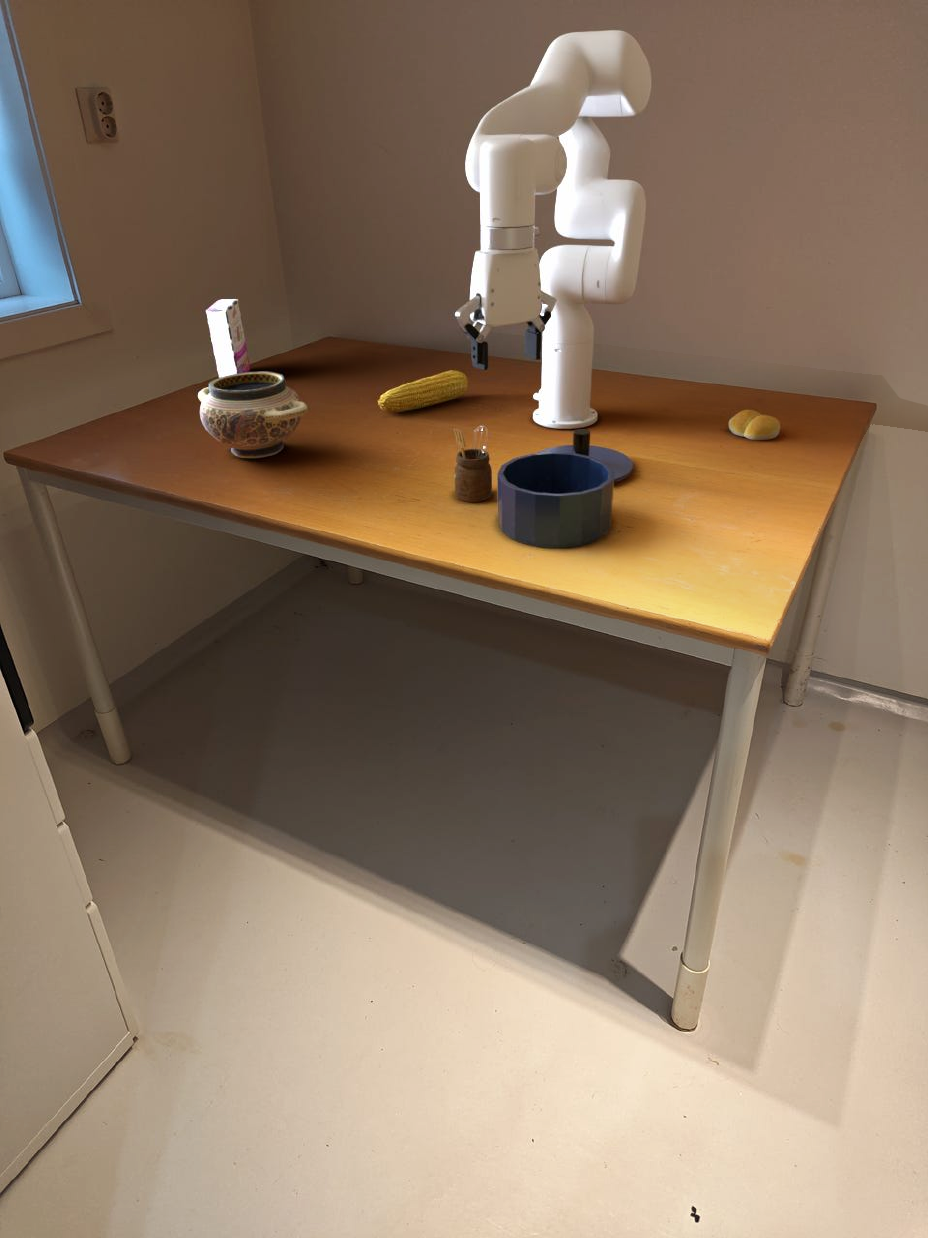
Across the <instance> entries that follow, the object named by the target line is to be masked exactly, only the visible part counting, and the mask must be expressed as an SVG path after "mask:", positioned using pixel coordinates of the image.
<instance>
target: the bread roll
mask: <svg viewBox="0 0 928 1238" xmlns="http://www.w3.org/2000/svg"><path fill="white" fill-rule="evenodd" d="M728 428H729V431H730V432H731V433H732V434H733V435H736V436H738V437H742V438H743V437H744V438H746V439H748V440H751V441H768V440H772V439H775V438H777V437H778V436H779V434H780V430H781V422H780V421H779V419H777V418H776V417H774V416H771V415H768V414H761V413H759V412H758V411H756V410H753V409H744V410H741V411H739V412H737V413H736V414H735V415H734V416H732V417H731V418H730V419H729V420H728Z"/></svg>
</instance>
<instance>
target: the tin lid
mask: <svg viewBox="0 0 928 1238" xmlns="http://www.w3.org/2000/svg"><path fill="white" fill-rule="evenodd" d="M572 433H573V434H572V435H573V436H572V444H566V445H559V446H558V445H557V446H553V447H549V448H546V449H542V450H540V451H538V452H537V453H544V452H565V453H576V454H581V455H585V456H590V457H594V458H596V459H598V460H600V461H603V462H605V463H607V464H608V465H609V466H610V467H611V468H612V469H613V471H614V472H615V475H614V483H618V482H620V481H622V480H624V479H626V478H628V477H629V476H630V475H631V474H632V472H633V471H634V470H633V469H634V463H633V461H632V459H631V458H630V457H629V456H627V455H626V454H624V453H623V452H621V451H618V450H616V449H612V448H609V447H605V446H599V445H591V430H589V429H587V428H576V429H574V430H573V432H572Z"/></svg>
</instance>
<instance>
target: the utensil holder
mask: <svg viewBox="0 0 928 1238" xmlns="http://www.w3.org/2000/svg"><path fill="white" fill-rule="evenodd" d="M483 428H484V429H485V434H487V435H485V439H484V441H486V443H484V445H483V448H482V449H481V445H482V444H481V443H479V444H478V448H477V444H476V443H477V440H475V438H477V434H478V433H476V432H478V431H479V429H480V430H483ZM453 432H454V435H455V440H456V445H457V446H458V447H459V448H460V451H458V452H457V453H456V458H455V461H456V465H455V466H454V492H455V496H456V498H457V499H458V500H460V501H463V502H467V503H479V502H483V501H486V500H488V499H490V497H491V495H492V492H493V471H492V466H491V464H490V454H489V452H488V451H486V448H487V446H488V443H489V441H487V440H488V437H489V433H490V432H489V431H488V428H487V427H486V426H484V425H479V426H477V427H476V428H475V430H474V435H472V436H473V437H472V438H473V439H472V440H474V444H472V445H473V447H474V448H467V449H465V448H466V447H467V445H466V441H465V437H464V434H463V429H459V428H456V427H454V428H453ZM479 434H480V436H479V438H480V440H482V436H483V435H482V433H479ZM474 436H475V437H474Z"/></svg>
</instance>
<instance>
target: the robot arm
mask: <svg viewBox="0 0 928 1238" xmlns="http://www.w3.org/2000/svg"><path fill="white" fill-rule="evenodd" d="M651 91H652V71H651V66H650V64H649V61H648V58H647V57H646V55H645V53H644V51H643V50H642V47H641V46H640V44H639V42H638V41H637V40H636V38H635V37H633V36H632V34H630V33H628V32H627V31H624V30H619V29H608V30H590V31H574V32H568V33H564V34H562V35H559V36H557V37H556V38H555V39H554V40H553V41H552V42H551V44H549V46H548V48H547V49H546V52H545V53H544V55H543V58H542V60H541V62H540V64H539V66H538V68H537V71H536V72H535V74H534V77H533V78H532V80H531V82H530V84H529V85H528V86H526V87H525V88H523V89H521V90H519V91H517V92H516V93H514V94H512V95H511V96H509V97H508V98H506V99H504V100H503V101H501V102H499V103H497V104H496V105H495V106H493V107H492V108H491V109H489V110H488V111H487V112H486V114H484V115H483V117H482V118H481V119H480V121H479V123H478V125H477V127H476V129H475V131H474V133H473V135H472V137H471V139H470V142H469V144H468V148H467V151H466V156H465V175H466V178H467V181H468V184H469V185H470V187H471V188H472V189H473V190H474V191H475V192H477V193H479V203H480V208H479V209H480V214H479V215H480V250H476V251H475V253H474V258H473V264H472V270H471V279H470V290H469V291H470V293H469V300H468V301H467V302H466V303H464V304H463V305H462V306H461V307H459V308H458V309H457V310H456V311H455V313H454V316H455V318H456V321H457V323H458V324H459V326H460V330H461V332H463V333H464V334H465V336H467V339H468V340H470V350H471V351H470V354H471V356H470V357H471V358H470V359H471V363H472V367H474V368H476V369H479V370H481V371H487V370H488V368H489V344H488V342H487V341H485V340H486V338H487V337H488V335H489V333H490V332H491V330H492V328H497V327H498V328H499V327H505V326H511V325H516V324H523V323H524V324H525V325H526V326H527V329H525V331H524V356H525V357H526V358H529V359H532V360H535V361H539V360H541V388H540V389H539V391H538V392H535V393H534V394H533V396H532V398H533V400H535V401H537V402H538V408H537V409H535V410H534V411H533V412H532V419H533V421H534V422H535V423H536V424H538V425H540V426H542V427H545V428H551V429H557V430H573V429H574V430H577V429H583V428H587V427H589V426H592V425H594V424H595V423H596V422H597V421H598V412H597V410H595V409H594V408H592V407H591V394H592V378H593V358H594V341H595V326H594V323H593V320H592V317H591V315H590V313H589V312H588V310H587V309H586V307H585V305H584V304H597V305H598V304H600V305H623V304H626V303H627V302H629V301H630V300H631V299H632V297H633V296H634V293H635V290H636V287H637V286H636V285H637V280H638V273H639V267H640V261H641V252H642V245H643V237H644V231H645V223H646V213H647V199H646V192H645V190H644V188H643V186H642V185H641V183H639V182H637V181H635V180H630V179H608V178H609V177H608V174H609V168H610V167H609V166H610V159H611V149H610V146H609V143H608V141H607V139H606V138H605V135H604V134H603V132H602V131H601V129H600V128H599V127H598V126H597V124H596V123H595V122H594V121H593V118H614V117H615V118H618V117H622V118H623V117H633V116H637V115H640V114H641V113H643V111H644V110H645V109H646V107H647V105H648V103H649V101H650V97H651ZM556 190H557V191H556ZM554 191H556V199H555V206H554V225H555V229H556V232H557V233H558V234H559V235H561V236H562V237H565V238H568V239H569V238H570V239H576V240H577V239H579V240H607V241H608V240H609V241H612V242H614V245H613V246H611V245H591V244H589V245H588V244H562V245H561V244H560V245H556V246H552V247H551V248H549V249H548V250H546V251H545V252H544V253H543V255H541V259H539V258H540V257H539V253H538V249H537V248H536V247H535V238H536V239H537V238H539V237H540V234H541V233H540V229H539V227H536V226H535V223H536V222H535V219H536V218H535V217H536V216H535V215H536V196H541V195H543V196H544V195H548V194H551V193H553V192H554ZM471 321H472V322H473V324H472V323H471ZM541 351H542V352H541ZM541 358H542V359H541Z"/></svg>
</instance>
